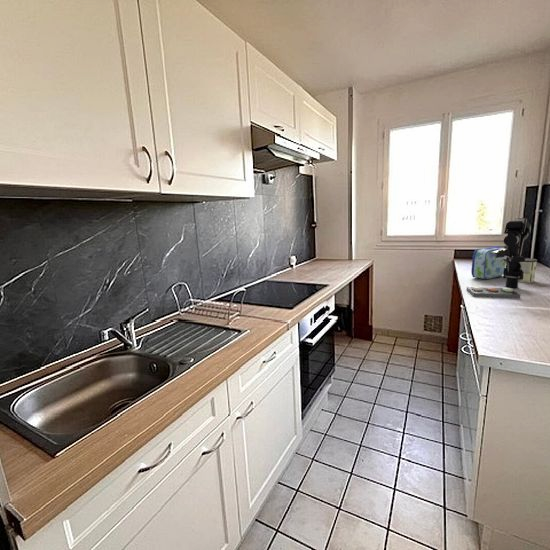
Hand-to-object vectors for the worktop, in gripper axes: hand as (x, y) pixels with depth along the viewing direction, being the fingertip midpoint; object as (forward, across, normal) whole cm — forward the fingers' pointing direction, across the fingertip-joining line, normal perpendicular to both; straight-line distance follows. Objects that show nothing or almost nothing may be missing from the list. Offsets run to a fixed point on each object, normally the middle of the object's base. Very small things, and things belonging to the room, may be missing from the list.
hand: (509, 272), depth 170 cm
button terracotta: (+11, +7, -9) cm, 16 cm away
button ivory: (+11, +7, -17) cm, 21 cm away
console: (+12, +7, -10) cm, 17 cm away
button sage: (+11, +7, -3) cm, 13 cm away
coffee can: (+12, -36, +21) cm, 43 cm away
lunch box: (+12, -44, +3) cm, 46 cm away
